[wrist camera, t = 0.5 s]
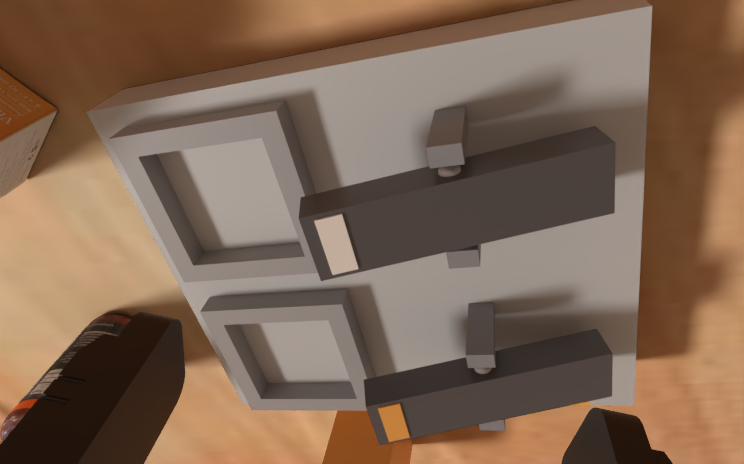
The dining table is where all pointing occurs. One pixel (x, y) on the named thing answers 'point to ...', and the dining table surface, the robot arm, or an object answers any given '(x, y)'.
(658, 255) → the dining table surface
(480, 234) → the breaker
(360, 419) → the cap
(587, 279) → the breaker panel
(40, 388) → the supplement bottle
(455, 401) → the breaker
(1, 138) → the small box
